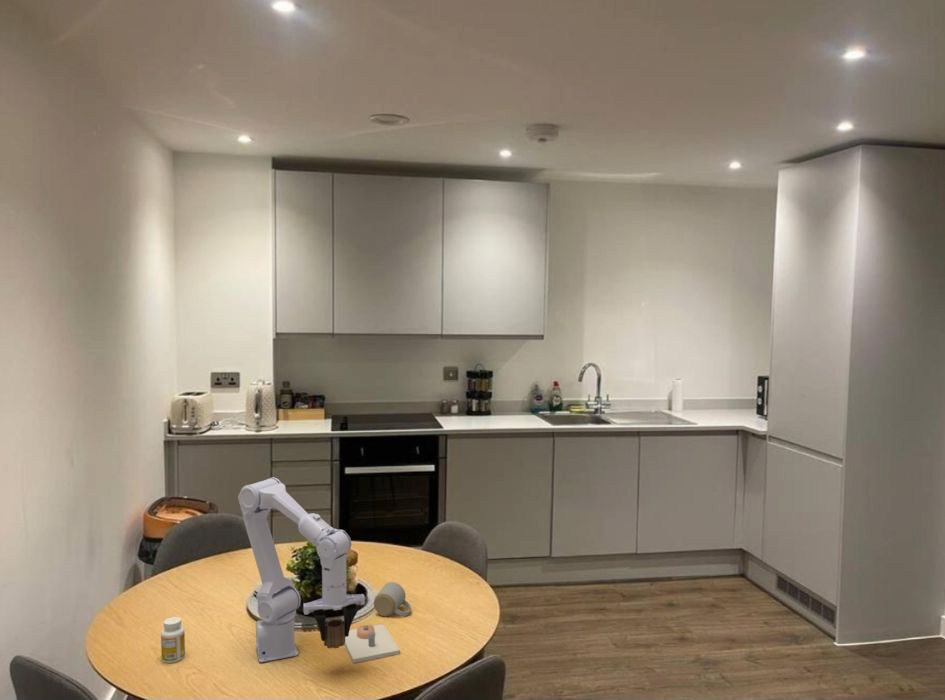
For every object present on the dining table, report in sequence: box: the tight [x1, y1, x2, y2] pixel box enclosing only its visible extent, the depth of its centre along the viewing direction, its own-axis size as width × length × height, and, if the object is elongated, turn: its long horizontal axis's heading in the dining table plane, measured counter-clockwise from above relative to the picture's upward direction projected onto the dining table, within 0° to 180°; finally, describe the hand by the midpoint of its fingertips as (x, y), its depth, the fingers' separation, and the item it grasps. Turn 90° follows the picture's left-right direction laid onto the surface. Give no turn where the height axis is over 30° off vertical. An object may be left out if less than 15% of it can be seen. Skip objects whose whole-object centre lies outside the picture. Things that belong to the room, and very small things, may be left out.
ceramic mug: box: [373, 581, 412, 617], centre depth 198 cm, size 10×8×7 cm
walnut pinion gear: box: [323, 618, 345, 649], centre depth 166 cm, size 5×5×5 cm
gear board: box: [344, 623, 401, 664], centre depth 179 cm, size 12×15×4 cm
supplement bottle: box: [160, 616, 186, 664], centre depth 172 cm, size 5×5×10 cm
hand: (334, 637), depth 166 cm, fingers closed on walnut pinion gear, 5 cm apart
